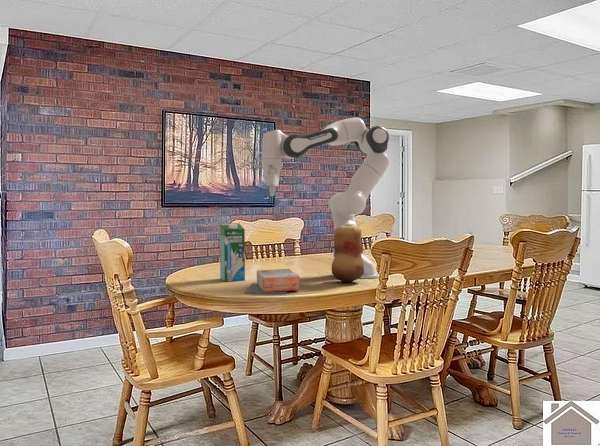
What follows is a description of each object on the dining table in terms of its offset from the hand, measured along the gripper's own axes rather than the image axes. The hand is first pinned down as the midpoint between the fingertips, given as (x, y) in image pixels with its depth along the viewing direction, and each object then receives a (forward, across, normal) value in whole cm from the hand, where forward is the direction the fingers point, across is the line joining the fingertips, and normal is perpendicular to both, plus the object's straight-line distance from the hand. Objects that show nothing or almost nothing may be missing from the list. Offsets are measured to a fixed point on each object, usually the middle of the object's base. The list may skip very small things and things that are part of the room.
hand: (272, 196), depth 226 cm
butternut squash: (+37, -13, -34) cm, 52 cm away
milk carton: (+37, -8, +17) cm, 42 cm away
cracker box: (+34, -18, -3) cm, 39 cm away
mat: (+37, -30, -2) cm, 48 cm away
